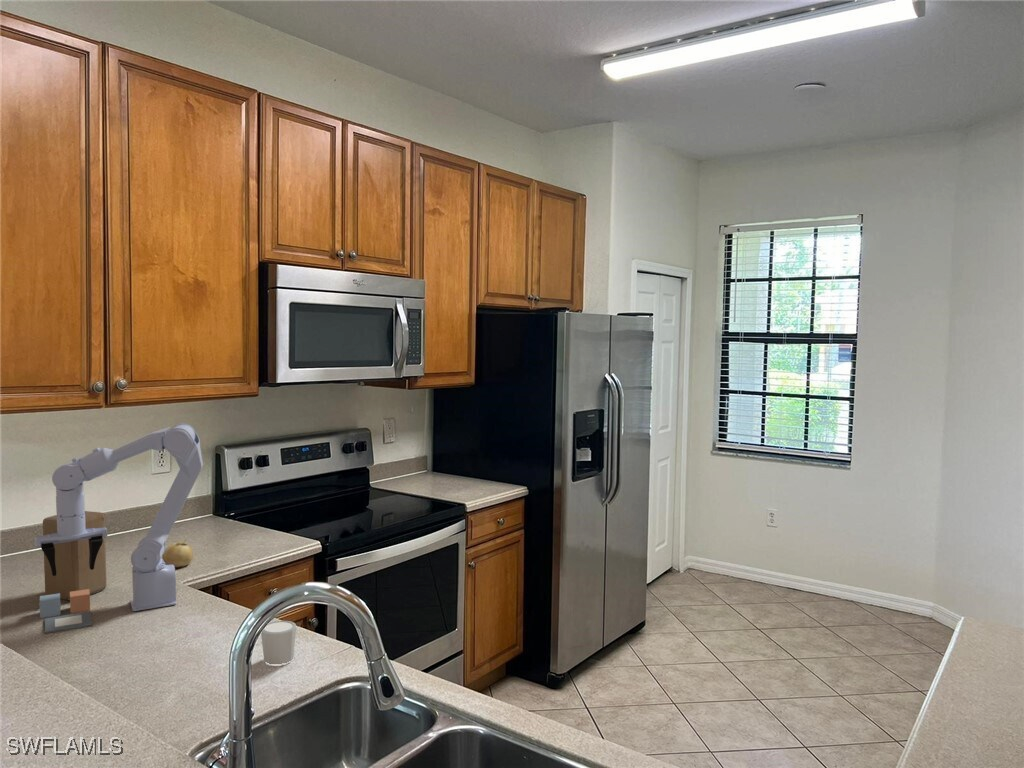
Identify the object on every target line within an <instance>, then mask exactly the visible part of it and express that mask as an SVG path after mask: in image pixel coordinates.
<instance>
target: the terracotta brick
mask: <svg viewBox="0 0 1024 768" xmlns="http://www.w3.org/2000/svg"><path fill="white" fill-rule="evenodd" d="M69 607H70V608H69V609H70V614H76V613H82V612H89V611H91V595H90V592H89V589H86V590H79V591H72V592H70V600H69Z"/></svg>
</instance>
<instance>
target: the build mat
mask: <svg viewBox="0 0 1024 768" xmlns="http://www.w3.org/2000/svg"><path fill="white" fill-rule="evenodd" d="M88 627H93V620H92V613H91V610H89V611H83V612H77V613H70V614H64V615H58V616H51V617H45V618H44V634H52V633H57V632H65V631H70V630H77V629H81V628H88Z"/></svg>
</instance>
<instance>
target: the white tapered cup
mask: <svg viewBox="0 0 1024 768" xmlns="http://www.w3.org/2000/svg"><path fill="white" fill-rule="evenodd" d="M268 623H269V624H268ZM268 623H267V624H268V625H267V626H266V627H265V628H264V630H263V631H262V633H261V632H260V635H261V644H262V645H261V646H262V653H263V655H262V656H263V662H264V661H265V662H267V663H269V664H282V663H287V662H289V661H291V660H292V659H293V657H295V645H296V637H297V636H296V635H297V633H296V632H297V624H296V623H295V622H293V621H289V620H276V621H271V622H268ZM293 660H294V659H293Z"/></svg>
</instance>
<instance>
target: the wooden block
mask: <svg viewBox="0 0 1024 768" xmlns="http://www.w3.org/2000/svg"><path fill="white" fill-rule="evenodd" d="M105 519H106V517H105V514H104V513H103V512H100V511H90V510H89V511H87V510H85V526H86V529H93V528H105V527H106V520H105ZM54 533H57V514H55V515H51V516H47V517H45V518H44V519H43V520H42V534H43V535H42V536H44V535H49V534H54ZM102 539H103V543H102V545H101V547H100V549H99V551H98V554H97V557H96V560H95V565H94V569H92V570H91V569H90V568H89V555H90V553H89V540H88V539H84V540H77V541H70V542H63V543H56V544H53V545H54V548H55V566H56V576H53V575H52V571H51V567H50V564H49V561H48V559H47V557H46V555H45V554H44V553H43V565H44V567H43V570H44V596H45V595H52V594H58V593H60V600H69V601H70V592H72V591H79V590H86V589H89V592H90V596H92V595H94V594H96V593H98V592H101V591H103V590H105V589H106V588H107V585H108V584H107V582H108V581H107V556H106V555H107V554H106V553H107V552H106V551H107V550H106V537H102Z"/></svg>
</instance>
